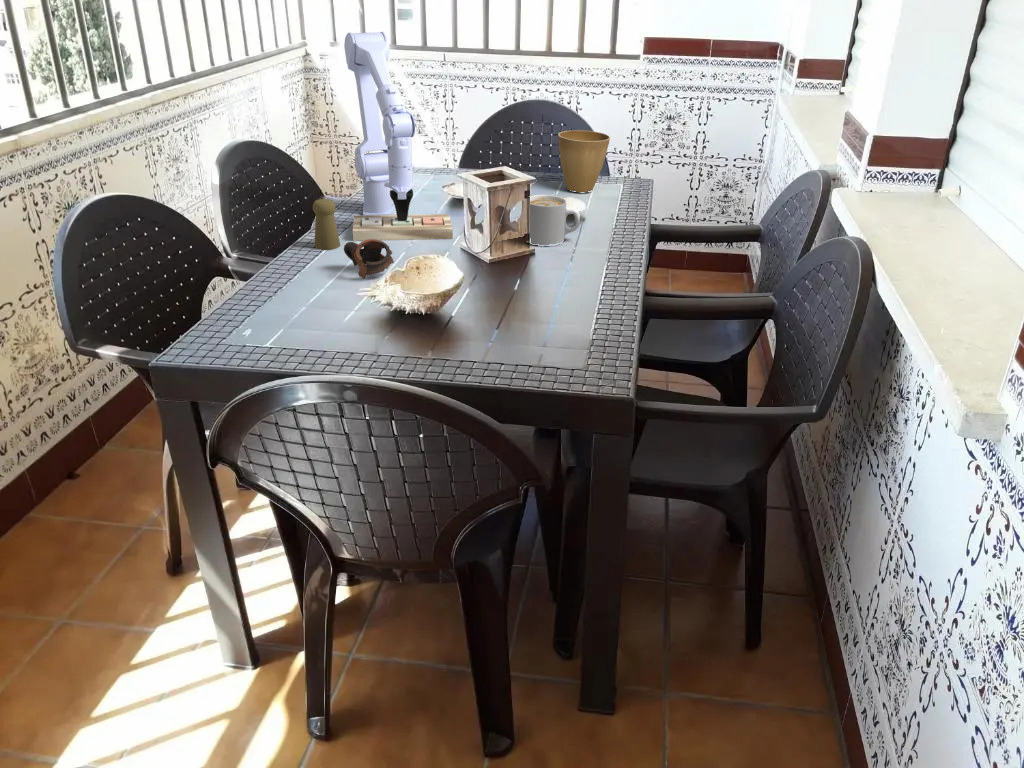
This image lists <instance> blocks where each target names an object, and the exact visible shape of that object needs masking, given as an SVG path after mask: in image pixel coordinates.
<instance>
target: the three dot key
mask: <svg viewBox="0 0 1024 768" xmlns="http://www.w3.org/2000/svg"><path fill="white" fill-rule="evenodd" d="M393 226H413V223H412V217H407V221H398V218H393Z"/></svg>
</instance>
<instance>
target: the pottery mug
mask: <svg viewBox="0 0 1024 768" xmlns="http://www.w3.org/2000/svg"><path fill="white" fill-rule="evenodd" d="M382 249H384V250H385V251H386V254H385V255H384V254H383V253H382ZM343 252H344V254H345V255H346V256H347V258H349V259H350V260H351V261H352V264H353V266H354V267H356V266H358V272H357V273H358V276H359V277H360V278H362V279H363V280H364V279H366V278H367V276H372V275H375V274H379V273H382V272H384V271H385V270H387V269H388V268H389V267H390V266H391V264H395V261H394V258H393V257H392V254H393V251H392V250H391V249H390V245H388V244H387V243H386V242H384V240H376V239H368V240H365V241H361V242H360V243H359V244H358V243H356V242H355V241H349V242H346V243H345V244H344V246H343Z"/></svg>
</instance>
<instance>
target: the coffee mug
mask: <svg viewBox="0 0 1024 768" xmlns="http://www.w3.org/2000/svg"><path fill="white" fill-rule="evenodd" d="M529 197H530V238H531V243H532V244H539V245H549V244H556V243H560V242H562V241H563V240H564V241H565V237H566V235H568V234H571V233H573V232H575V231H576V230H577V229H578V228H579V227H580V224H581V223H580V222H581V215H580V212H579V211H578V209H576V208H574V207H568V206H567V199H566V198H564V197H561V196H557V195H551V194H535V195H531V196H530V195H529ZM570 214H572V215H573V216H574V223H573V224H572V225H569V224H567V217H568V215H570Z"/></svg>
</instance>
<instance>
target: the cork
mask: <svg viewBox="0 0 1024 768" xmlns="http://www.w3.org/2000/svg"><path fill="white" fill-rule="evenodd" d="M336 207H337V206H336V203H335V202H334V201H333V200H331V199H329V198H320V199H315V200H314V201H313V204H312V211H313V213H314V214H315V228H314V248H315V249H316V250H320V249H321V250H320V251H322V250H323V251H330V250H331V251H332V250H336V249H339V248H340V247H341V242H340V238H339V232H338V227H337V222H336V219H335V218H336V217H335V212H336Z"/></svg>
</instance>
